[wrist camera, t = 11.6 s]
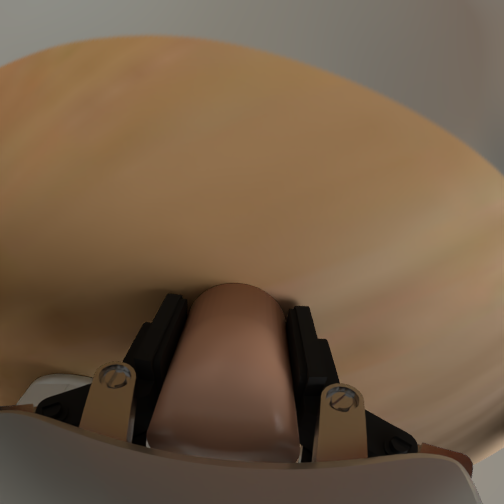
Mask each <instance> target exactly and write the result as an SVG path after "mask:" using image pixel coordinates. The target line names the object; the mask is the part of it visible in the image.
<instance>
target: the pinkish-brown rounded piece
mask: <svg viewBox="0 0 504 504" xmlns="http://www.w3.org/2000/svg"><path fill="white" fill-rule="evenodd" d="M147 442H148V444H149V446H150V448H153V449H158V450H163V451H168V452H173V453H179V454H185V455H191V456H198V457H205V458H213V459H222V460H233V461H246V462H268V463H295V462H296V461H297V459H298V458H299V455H300V443H299V433H298V424H297V414H296V405H295V397H294V388H293V380H292V371H291V363H290V354H289V346H288V338H287V330H286V322H285V317H284V313H283V311H282V309H281V307H280V305H279V304H278V303H277V302H276V300H275V299H274V298H273V297H272V296H270V295H269V294H268V293H266V292H265V291H263V290H261V289H259V288H256V287H254V286H250V285H247V284H240V283H230V284H222V285H218V286H215V287H212V288H210V289H208V290H207V291H205V292H203V293H202V294H201V295H200V296H199V297H198V298H197V299H196V300H195V301H194V303H193V305H192V306H191V309H190V311H189V314H188V317H187V319H186V322H185V325H184V327H183V330H182V333H181V336H180V338H179V341H178V344H177V346H176V349H175V352H174V355H173V358H172V360H171V363H170V366H169V369H168V372H167V375H166V377H165V380H164V383H163V386H162V389H161V392H160V395H159V398H158V401H157V404H156V407H155V410H154V413H153V416H152V419H151V422H150V425H149V428H148V431H147Z"/></svg>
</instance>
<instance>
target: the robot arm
mask: <svg viewBox="0 0 504 504" xmlns="http://www.w3.org/2000/svg"><path fill="white" fill-rule="evenodd" d="M186 319H187V300H186V299H183V298H182V295H177V294H167V296H166V298H165V299H164V301H163V303H162V305H161V307H160V309H159V311H158V312H157V314H156V316H155V318H154V320H153V322H152V323H149V322H145V323H144V324H143V325H142V327H141V329H140V331H139V333H138V334H137V336H136V338H135V340H134V342H133V343H132V345H131V347H130V349H129V351H128V353H127V354H126V356H125V358H124V360H123V362H119V361H117V362H109V363H106V364H104V365H102V366H100V367H99V368H98V369H97V371H96V372H95V374H94V377H93V381H92V383H90V384H87V385H84V386H81V387H78V388H75V389H72V390H69V391H66V392H63V393H60V394H57V395H54V396H50V397H48V398H45V399H43V400H42V401H41V402H40V403H39V404H38V406H36V407H35V406H34V405H33V404H24V405H13V406H0V504H482V501H481V498H480V496H479V493H478V491H477V489H476V487H475V485H474V483H473V481H472V479H471V478H472V472H473V464H472V461H471V459H470V458H469V457H468V456H467V455H465V454H462V453H459V452H455V451H451V450H447V449H443V448H440V447H436V446H433V445H429V444H426V443H422V444H421V445H418V444H417V442H416V440H415V439H414V438H413V437H412V436H411V435H410V434H408V433H407V432H405V431H403V430H401V429H399V428H397V427H395V426H394V425H392V424H390V423H388V422H386V421H385V420H383V419H381V418H379V417H377V416H376V415H374V414H372V413H370V412H369V411H367V410H365V407H364V399H363V396H362V394H361V393H360V392H359V391H358V390H357V389H356V388H354V387H352V386H350V385H347V384H343V383H340V382H339V379H338V375H337V372H336V368H335V365H334V361H333V358H332V354H331V351H330V348H329V344H328V341H327V340H326V339H318V338H317V335H316V331H315V327H314V323H313V319H312V316H311V312H310V308H309V307H308V306H294V309H289V312H288V317H287V323H286V330H287V338H288V346H289V354H290V363H291V371H292V380H293V388H294V397H295V405H296V414H297V424H298V433H299V443H300V444H301V446H300V455H299V460H298V463H268V462H246V461H233V460H222V459H213V458H205V457H198V456H191V455H185V454H179V453H173V452H168V451H163V450H158V449H153V448H149V444H148V442H147V431H148V428H149V425H150V422H151V419H152V416H153V413H154V410H155V407H156V404H157V401H158V398H159V395H160V392H161V389H162V386H163V383H164V380H165V377H166V375H167V372H168V369H169V366H170V363H171V360H172V358H173V355H174V352H175V349H176V346H177V344H178V341H179V338H180V336H181V333H182V330H183V327H184V325H185V322H186Z"/></svg>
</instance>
